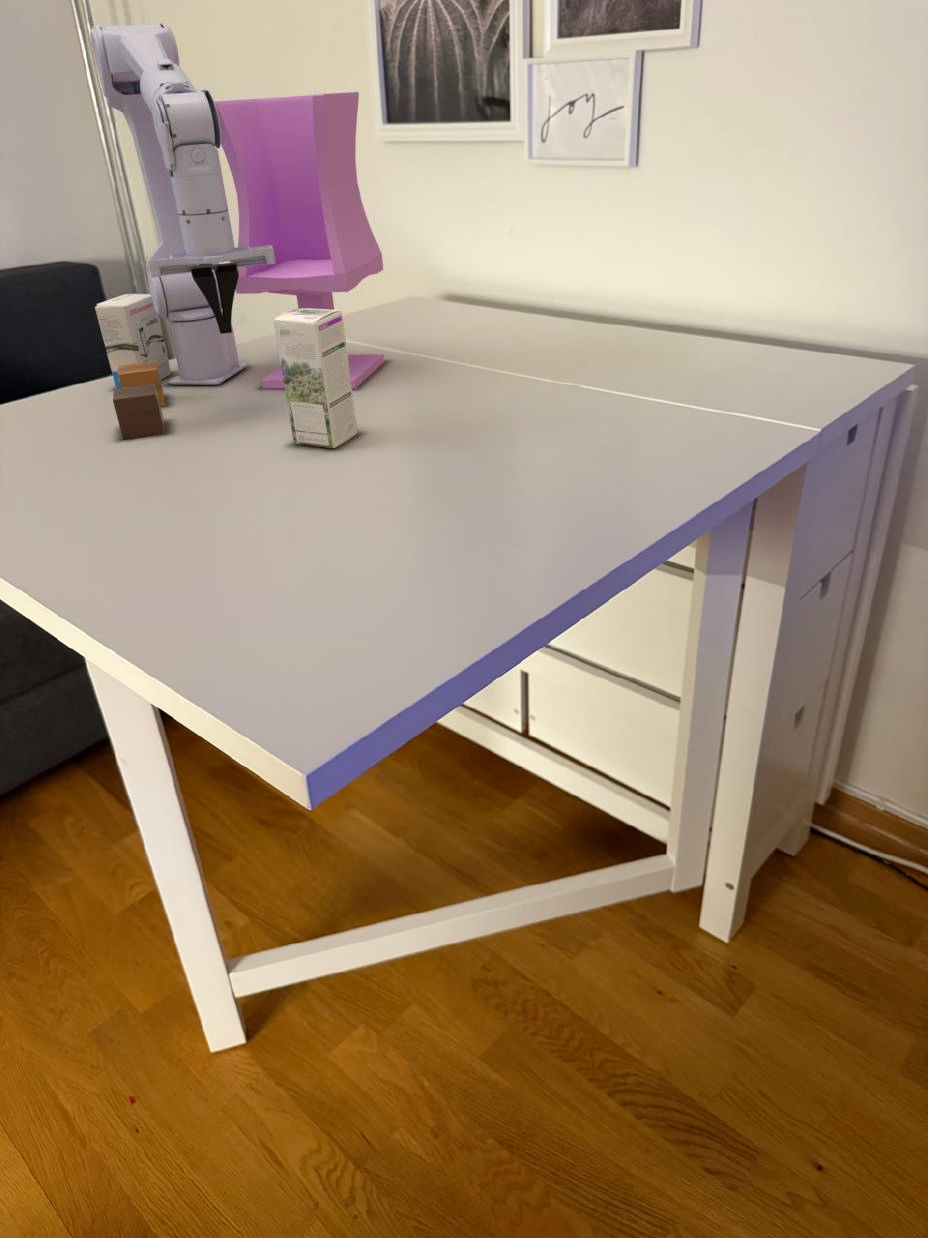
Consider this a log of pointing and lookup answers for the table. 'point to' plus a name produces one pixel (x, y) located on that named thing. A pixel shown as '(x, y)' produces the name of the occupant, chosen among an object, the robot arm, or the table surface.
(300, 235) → the purple pedestal chair
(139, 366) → the oak block
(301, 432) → the syrup box
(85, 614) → the table surface
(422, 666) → the table surface
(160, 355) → the ink box
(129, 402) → the walnut block
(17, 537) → the table surface
